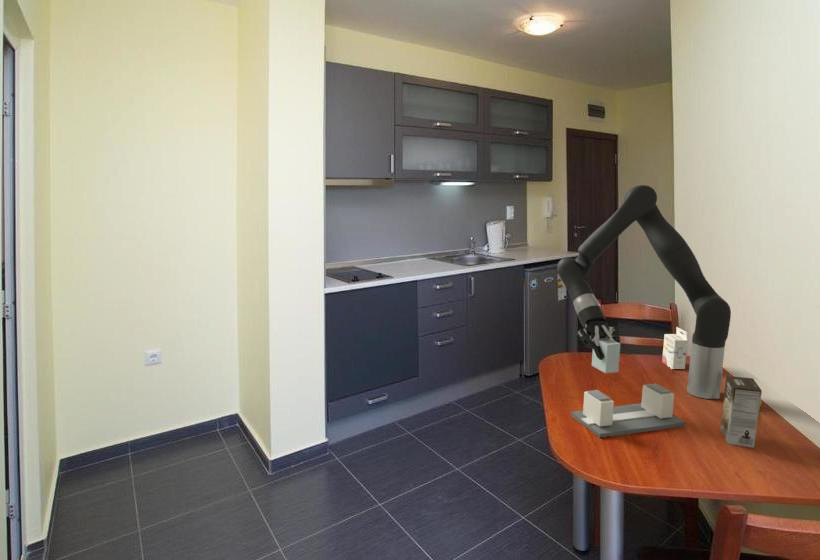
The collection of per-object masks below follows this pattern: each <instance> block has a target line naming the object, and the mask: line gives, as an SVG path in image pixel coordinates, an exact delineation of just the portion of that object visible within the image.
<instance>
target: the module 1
mask: <svg viewBox="0 0 820 560" xmlns="http://www.w3.org/2000/svg"><path fill="white" fill-rule="evenodd" d="M613 407H615V401H614V400H612V399H611V397H610V396H608V395H607V394H605V393H603V392H601V391H600V390H598V389H595V390H593V389H592V390H587V391H584V392H583V406H582V410H583V415H585V416H586V417H587V418H589V419H590V420H591V421H593V422H594V423H595V424H597V425H598V426H608V425H612V420H613Z"/></svg>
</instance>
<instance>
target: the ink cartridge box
mask: <svg viewBox="0 0 820 560" xmlns="http://www.w3.org/2000/svg"><path fill="white" fill-rule="evenodd" d="M675 329H676V332H675V333H665V334H664V336H663V346H662V347H663V349H662V358H661V359H662V360H661V362H662V363H663V365H666V366H667V367H668V368H669V367H670V368H669V369H670V370H672V369H686V359H687V350H688V332H687V331H685V330H684V329H682V328H680V327H679V326H676V328H675Z"/></svg>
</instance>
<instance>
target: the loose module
mask: <svg viewBox="0 0 820 560" xmlns="http://www.w3.org/2000/svg"><path fill="white" fill-rule="evenodd" d="M598 342H599V346H600V347H601V349H602V352H603V354H604V356H605V357H604V358H603V359H602V360H599V358H597V356H596V354H595V351H594V349H592V355H591V367H593V368H595V369H597V370H599V371H601V372H602V373H604V374H612V373H613V374H614V373H618V372H619V368H620V367H619V366H620V358H621V357H620V356H621V355H620V354H621V342H620V343H618V342H616V341H613V340H611V339H607V337H606V338H599V340H598Z"/></svg>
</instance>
